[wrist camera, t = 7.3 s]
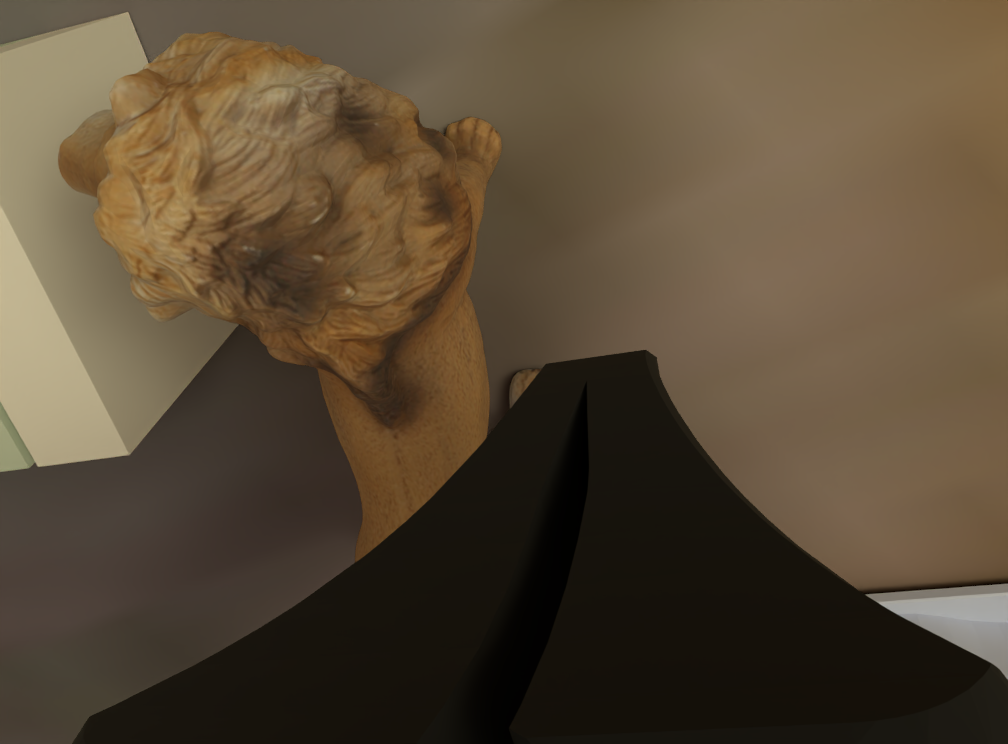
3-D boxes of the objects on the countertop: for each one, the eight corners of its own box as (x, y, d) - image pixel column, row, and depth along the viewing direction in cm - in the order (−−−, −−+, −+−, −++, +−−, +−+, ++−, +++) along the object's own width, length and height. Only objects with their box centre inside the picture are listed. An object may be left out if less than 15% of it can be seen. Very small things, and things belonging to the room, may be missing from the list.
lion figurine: (206, 22, 19) (-102, 145, 11) (443, -69, 17) (283, -1, 9) (453, 554, 25) (370, 868, 17) (639, 521, 24) (640, 847, 16)
